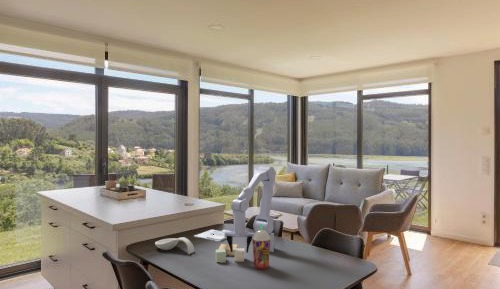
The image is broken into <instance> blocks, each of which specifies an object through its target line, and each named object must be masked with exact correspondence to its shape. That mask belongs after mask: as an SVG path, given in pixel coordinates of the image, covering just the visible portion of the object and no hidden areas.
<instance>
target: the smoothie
mask: <svg viewBox="0 0 500 289" xmlns="http://www.w3.org/2000/svg"><path fill="white" fill-rule="evenodd" d="M253 233H254V235H253V237H252V240H251V241H252V251H253V252H252V253H253V265H254V267H255V269H257V270H265V269H267V268H268V266H270V265H269V264H270V253H271V252H270V239H271V238H270V236H269V234H268V232H267V231H265V230H262V224H261V230H258V231H255V232H253Z"/></svg>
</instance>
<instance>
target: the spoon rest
mask: <svg viewBox="0 0 500 289" xmlns="http://www.w3.org/2000/svg"><path fill="white" fill-rule="evenodd" d="M179 242H182V243H184V244H185V245H186V247H187V254H188V255H190V254H194V253H195V247H194V244H193V242H191V240H190V239H188V238H187V237H178V238H163V239H160V240H157V241H154V244H155V246H156V247H157V248H159V249H160V250H162V251H168V250H173V248H175V247H176V245H178V243H179Z"/></svg>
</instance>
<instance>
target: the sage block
mask: <svg viewBox="0 0 500 289" xmlns="http://www.w3.org/2000/svg"><path fill="white" fill-rule="evenodd" d="M215 262H220V263H226V262H227V255H226V251H225V249H219V248H218V249H215Z"/></svg>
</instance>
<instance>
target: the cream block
mask: <svg viewBox="0 0 500 289" xmlns="http://www.w3.org/2000/svg"><path fill="white" fill-rule="evenodd" d="M245 249H246V248H245V247H238V248H235V251H234V254H235V256H234V262H245V258H246V257H245V256H246V254H245V252H246V250H245Z"/></svg>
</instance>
